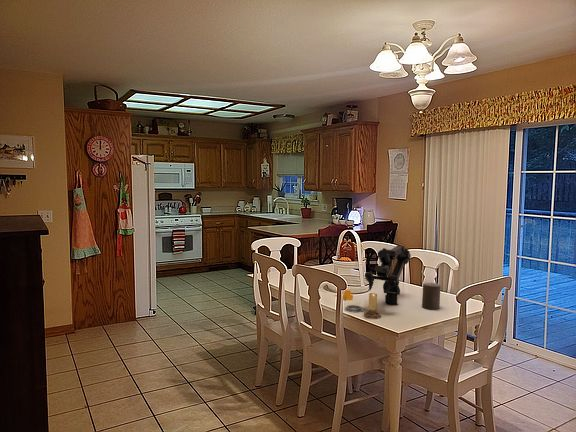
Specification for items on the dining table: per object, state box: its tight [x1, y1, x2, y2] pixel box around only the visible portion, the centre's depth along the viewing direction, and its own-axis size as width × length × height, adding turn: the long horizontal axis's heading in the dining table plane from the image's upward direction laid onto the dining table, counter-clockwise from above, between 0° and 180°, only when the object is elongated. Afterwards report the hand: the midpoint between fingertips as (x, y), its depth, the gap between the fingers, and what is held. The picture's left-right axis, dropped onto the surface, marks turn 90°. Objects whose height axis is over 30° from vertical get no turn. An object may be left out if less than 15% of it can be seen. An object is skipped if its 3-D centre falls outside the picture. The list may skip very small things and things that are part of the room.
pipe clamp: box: [342, 289, 354, 301], centre depth 269 cm, size 12×4×6 cm, turn 22°
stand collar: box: [363, 310, 382, 320], centre depth 233 cm, size 9×9×1 cm
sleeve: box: [367, 292, 378, 315], centre depth 232 cm, size 4×4×12 cm
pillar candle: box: [421, 282, 441, 311], centre depth 250 cm, size 10×10×15 cm
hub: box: [344, 304, 364, 313], centre depth 244 cm, size 10×10×1 cm
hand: (377, 291), depth 237 cm, fingers open, 9 cm apart
